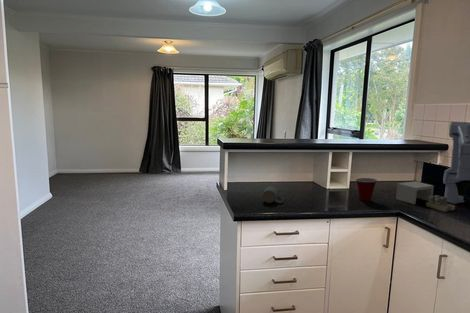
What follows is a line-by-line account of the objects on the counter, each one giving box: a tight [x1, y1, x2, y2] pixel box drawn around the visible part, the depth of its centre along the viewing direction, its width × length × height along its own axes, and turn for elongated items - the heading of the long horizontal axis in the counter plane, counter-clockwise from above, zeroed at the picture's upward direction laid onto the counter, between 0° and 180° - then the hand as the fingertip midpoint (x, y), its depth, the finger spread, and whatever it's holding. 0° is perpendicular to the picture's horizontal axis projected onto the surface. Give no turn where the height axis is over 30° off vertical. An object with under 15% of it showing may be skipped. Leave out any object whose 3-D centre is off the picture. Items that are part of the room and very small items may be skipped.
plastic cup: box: [355, 177, 378, 203], centre depth 176 cm, size 11×11×12 cm
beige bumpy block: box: [425, 194, 456, 213], centre depth 165 cm, size 8×10×6 cm
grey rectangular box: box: [395, 181, 435, 205], centre depth 178 cm, size 15×11×9 cm
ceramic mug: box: [262, 185, 284, 204], centre depth 170 cm, size 11×8×8 cm
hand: (461, 195), depth 156 cm, fingers closed
